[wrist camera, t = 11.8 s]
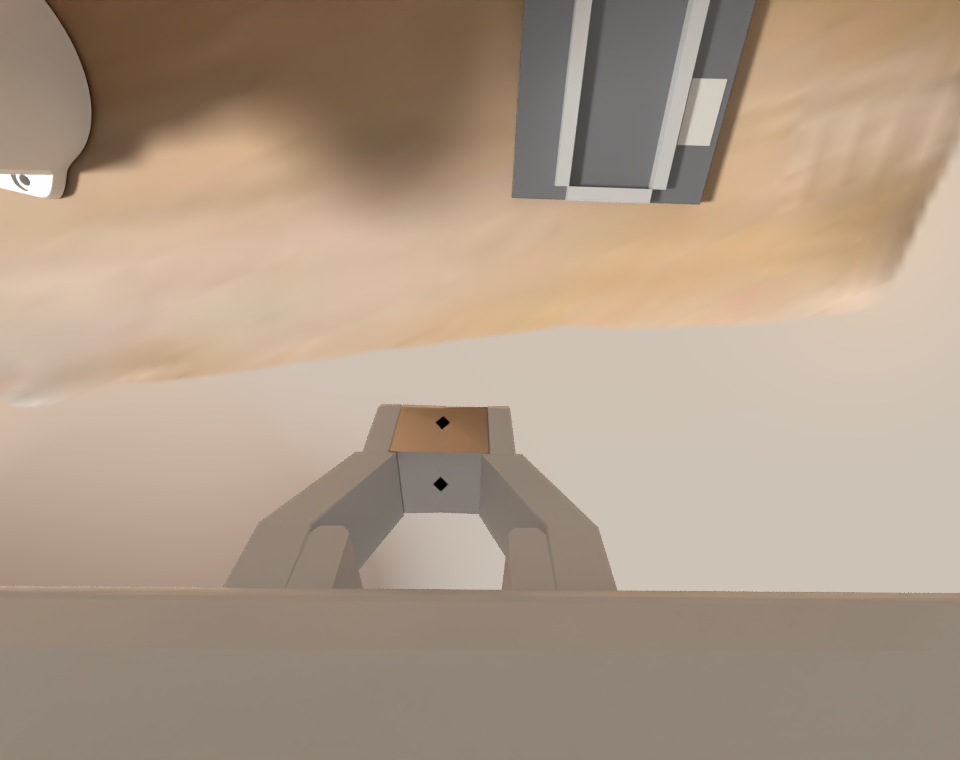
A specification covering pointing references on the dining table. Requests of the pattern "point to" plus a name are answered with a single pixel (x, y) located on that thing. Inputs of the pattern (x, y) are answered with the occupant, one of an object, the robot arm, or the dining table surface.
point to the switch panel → (623, 97)
